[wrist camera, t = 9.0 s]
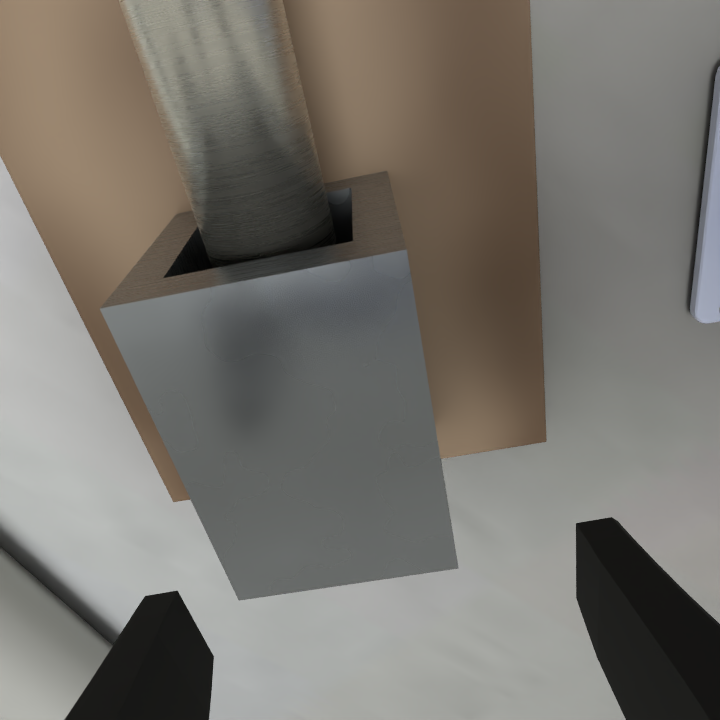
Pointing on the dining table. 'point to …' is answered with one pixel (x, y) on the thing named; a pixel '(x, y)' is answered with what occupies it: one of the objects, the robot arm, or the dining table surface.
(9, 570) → the tube
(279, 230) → the inner tube
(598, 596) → the robot arm
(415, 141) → the base board
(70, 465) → the dining table surface
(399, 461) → the sleeve
